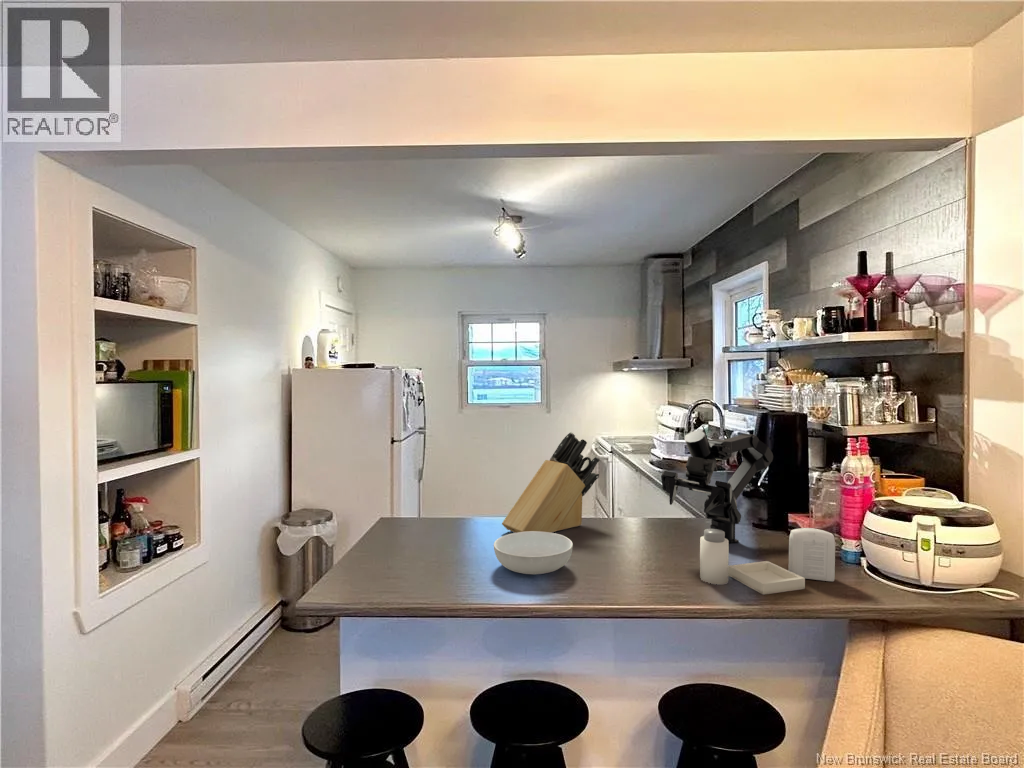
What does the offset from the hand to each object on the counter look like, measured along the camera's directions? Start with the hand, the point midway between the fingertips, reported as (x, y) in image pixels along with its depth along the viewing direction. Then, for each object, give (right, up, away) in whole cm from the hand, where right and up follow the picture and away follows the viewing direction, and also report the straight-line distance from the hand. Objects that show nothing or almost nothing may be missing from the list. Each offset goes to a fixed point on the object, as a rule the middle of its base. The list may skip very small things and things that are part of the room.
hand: (687, 507), depth 142 cm
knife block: (-34, -15, +34) cm, 50 cm away
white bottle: (+3, -15, -11) cm, 19 cm away
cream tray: (+15, -15, -13) cm, 25 cm away
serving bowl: (-42, -16, -3) cm, 45 cm away
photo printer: (+28, -15, -10) cm, 33 cm away
